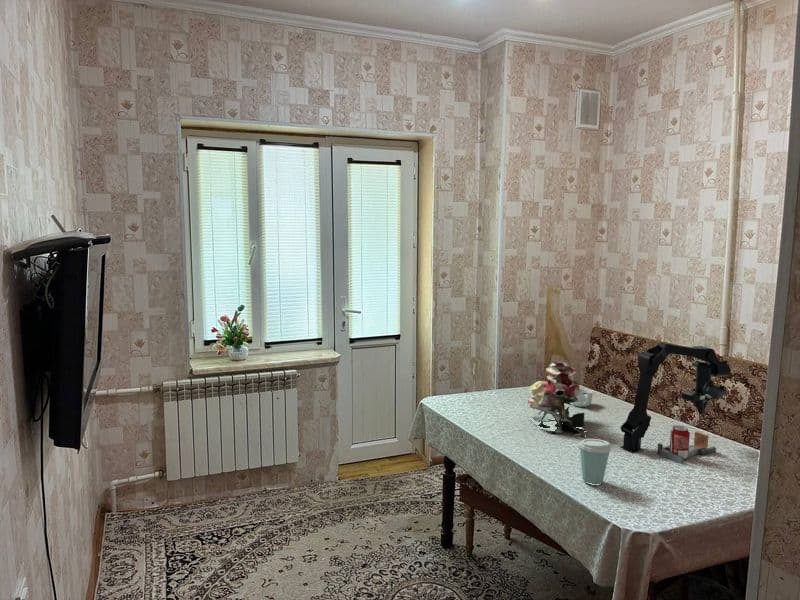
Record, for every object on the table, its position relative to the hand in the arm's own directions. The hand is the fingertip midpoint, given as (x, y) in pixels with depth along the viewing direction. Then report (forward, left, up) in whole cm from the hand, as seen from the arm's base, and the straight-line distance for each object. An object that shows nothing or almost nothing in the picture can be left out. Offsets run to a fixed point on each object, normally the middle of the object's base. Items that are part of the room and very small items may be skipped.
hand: (701, 414), depth 239 cm
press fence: (-19, -6, -13) cm, 24 cm away
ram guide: (-6, -6, -13) cm, 16 cm away
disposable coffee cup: (-67, -9, -13) cm, 69 cm away
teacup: (-6, +62, -13) cm, 64 cm away
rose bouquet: (-38, +44, -13) cm, 60 cm away
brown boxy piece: (-12, -6, -13) cm, 18 cm away
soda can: (-20, -6, -13) cm, 25 cm away
